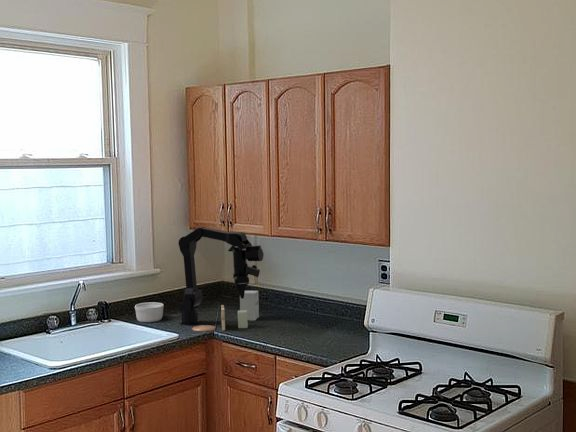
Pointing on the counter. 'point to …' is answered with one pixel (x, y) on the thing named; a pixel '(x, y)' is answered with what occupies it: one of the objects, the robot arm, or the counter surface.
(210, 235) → the robot arm
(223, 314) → the divider board
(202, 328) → the disc
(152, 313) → the ramekin
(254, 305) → the supplement box
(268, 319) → the counter surface
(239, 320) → the sage block
